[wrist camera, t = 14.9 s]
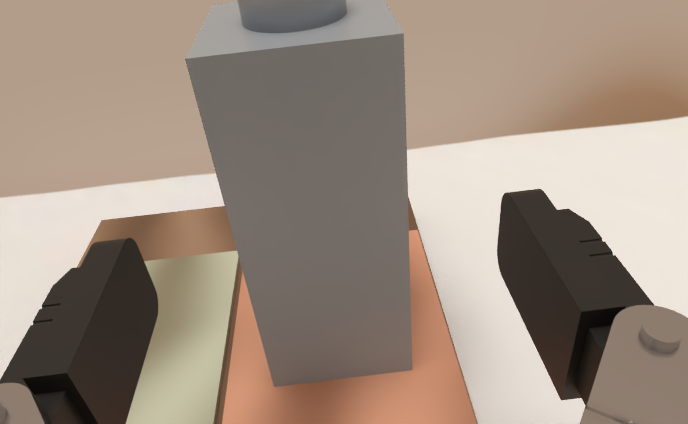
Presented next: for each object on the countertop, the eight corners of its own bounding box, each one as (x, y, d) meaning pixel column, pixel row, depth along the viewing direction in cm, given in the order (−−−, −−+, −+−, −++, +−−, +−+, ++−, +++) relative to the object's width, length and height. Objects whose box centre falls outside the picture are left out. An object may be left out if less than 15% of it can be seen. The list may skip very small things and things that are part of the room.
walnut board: (-102, 715, 14) (-156, 690, 13) (114, 248, 30) (99, 215, 29) (526, 641, 14) (537, 609, 13) (405, 214, 31) (404, 181, 29)
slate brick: (273, 386, 19) (167, -6, 11) (277, 290, 23) (202, -46, 15) (412, 370, 19) (401, -33, 11) (391, 276, 23) (373, -66, 15)
